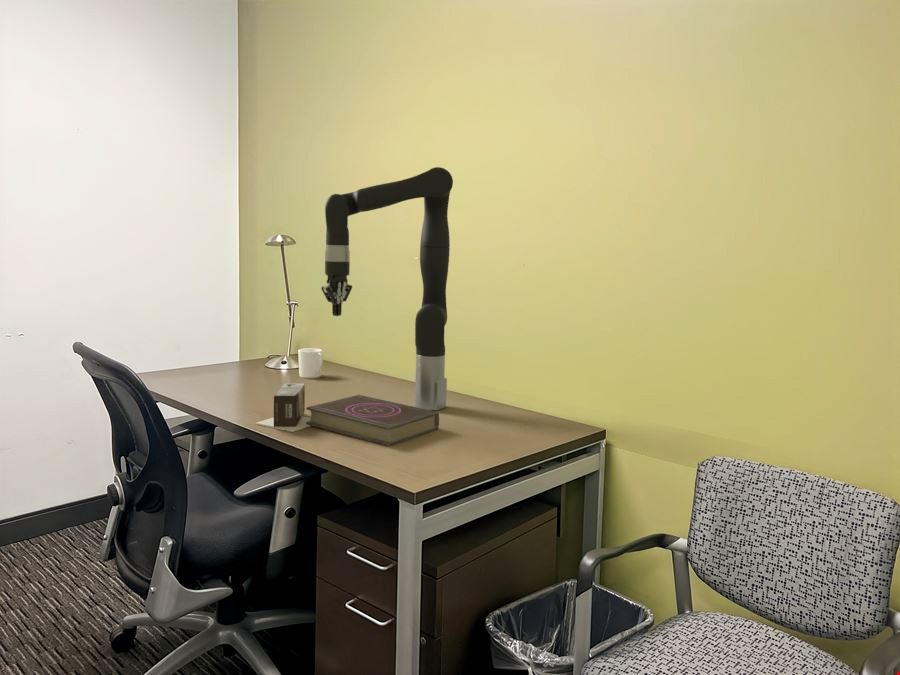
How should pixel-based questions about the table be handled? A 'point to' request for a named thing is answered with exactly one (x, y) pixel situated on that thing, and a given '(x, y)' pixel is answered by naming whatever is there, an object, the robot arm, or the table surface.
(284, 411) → the coffee box
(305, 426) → the mat
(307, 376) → the mug
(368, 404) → the book
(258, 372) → the table surface
